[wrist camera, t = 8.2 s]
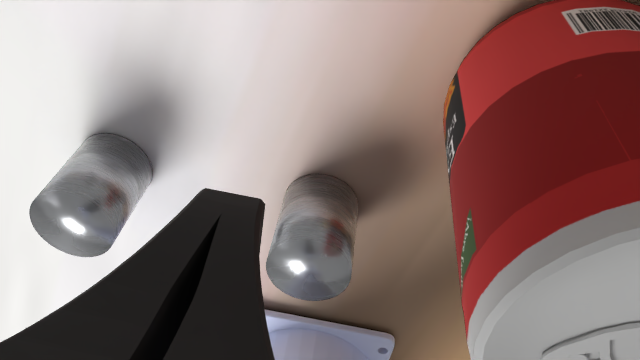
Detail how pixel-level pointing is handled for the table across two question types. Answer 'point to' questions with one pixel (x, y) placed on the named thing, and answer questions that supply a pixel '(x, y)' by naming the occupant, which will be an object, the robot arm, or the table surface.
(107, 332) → the robot arm
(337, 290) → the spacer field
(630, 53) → the canned food
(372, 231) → the table surface
